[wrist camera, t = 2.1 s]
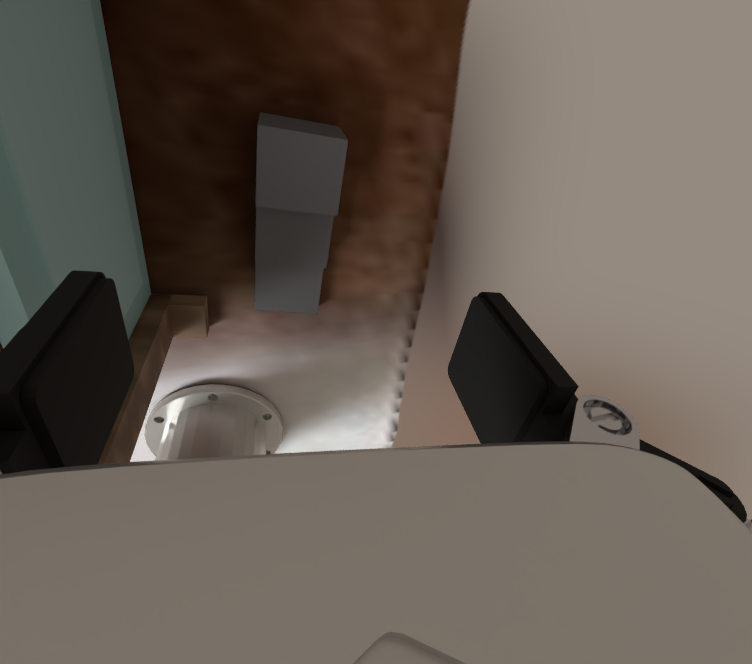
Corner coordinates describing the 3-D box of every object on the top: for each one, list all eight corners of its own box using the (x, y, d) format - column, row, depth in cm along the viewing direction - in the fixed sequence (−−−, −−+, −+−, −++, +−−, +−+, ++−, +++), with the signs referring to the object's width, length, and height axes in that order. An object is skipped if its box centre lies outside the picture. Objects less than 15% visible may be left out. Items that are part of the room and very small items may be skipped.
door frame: (209, 326, 33) (158, 545, 19) (99, 324, 31) (-48, 566, 17) (171, -132, 19) (-169, -633, 4) (-42, -193, 17) (-1861, -1440, 2)
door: (154, 293, 30) (82, 445, 19) (133, 292, 30) (48, 446, 19) (94, -57, 19) (-154, -172, 8) (60, -65, 19) (-246, -195, 8)
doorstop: (338, 125, 27) (348, 140, 23) (316, 304, 34) (320, 335, 31) (260, 111, 25) (257, 124, 22) (255, 300, 33) (252, 332, 30)
